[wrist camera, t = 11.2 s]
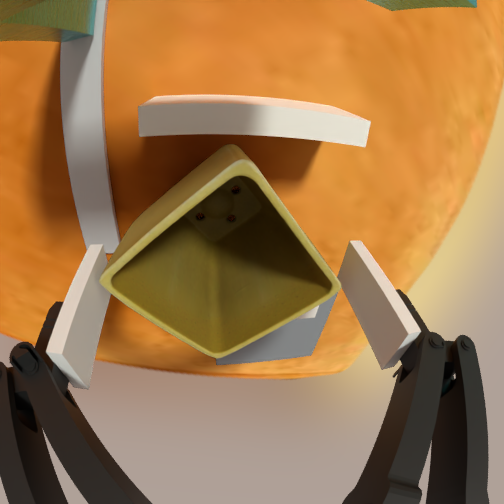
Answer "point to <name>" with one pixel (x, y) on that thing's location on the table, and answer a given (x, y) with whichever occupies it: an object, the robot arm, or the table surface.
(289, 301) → the flower pot
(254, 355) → the mat
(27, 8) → the gate
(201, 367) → the table surface
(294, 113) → the white bars
